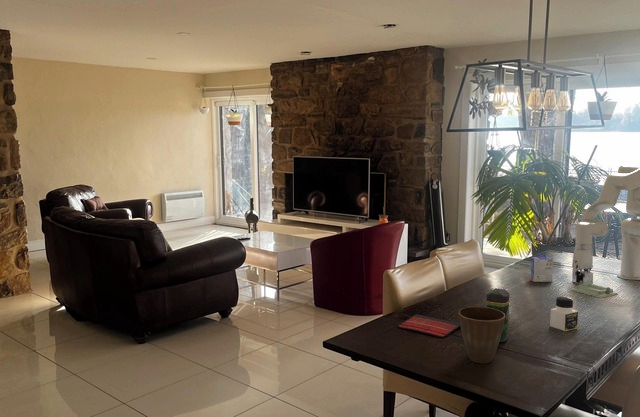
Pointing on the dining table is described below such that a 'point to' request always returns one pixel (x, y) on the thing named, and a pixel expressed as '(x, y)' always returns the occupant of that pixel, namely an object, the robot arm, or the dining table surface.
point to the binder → (430, 326)
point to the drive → (584, 277)
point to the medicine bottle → (564, 314)
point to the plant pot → (481, 332)
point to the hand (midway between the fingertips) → (582, 281)
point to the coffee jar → (500, 307)
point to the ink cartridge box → (541, 268)
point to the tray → (594, 290)
